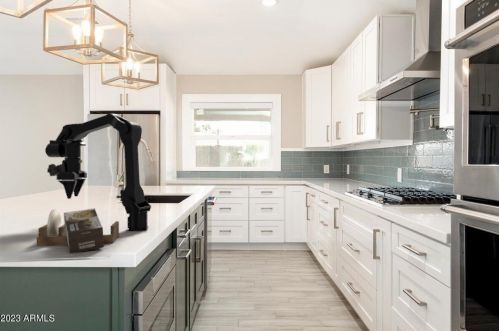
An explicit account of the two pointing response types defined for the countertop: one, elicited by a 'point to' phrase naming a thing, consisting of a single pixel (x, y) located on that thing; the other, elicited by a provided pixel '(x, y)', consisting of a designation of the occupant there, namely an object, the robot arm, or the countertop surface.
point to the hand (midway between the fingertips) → (72, 197)
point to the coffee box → (83, 230)
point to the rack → (57, 233)
